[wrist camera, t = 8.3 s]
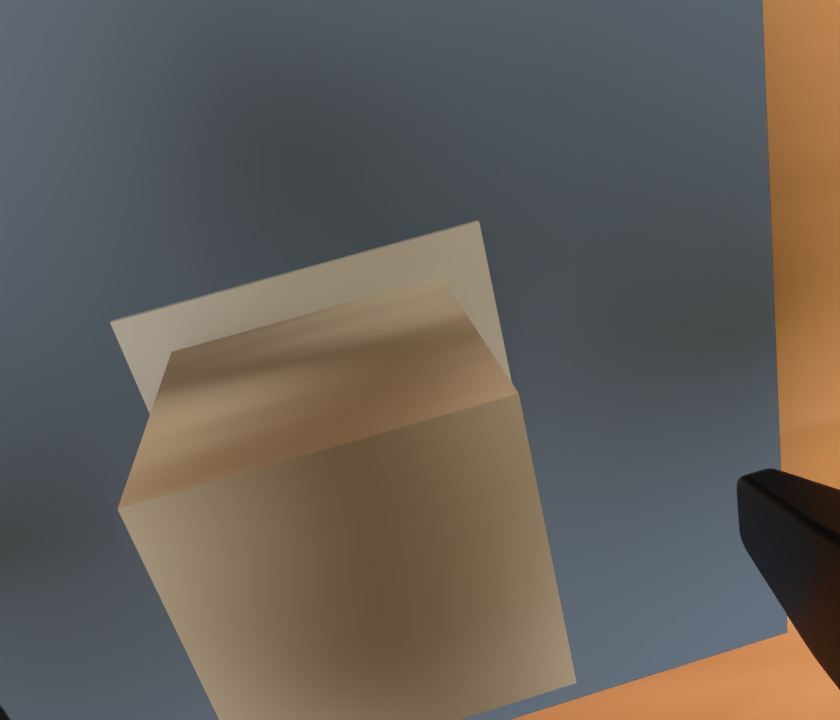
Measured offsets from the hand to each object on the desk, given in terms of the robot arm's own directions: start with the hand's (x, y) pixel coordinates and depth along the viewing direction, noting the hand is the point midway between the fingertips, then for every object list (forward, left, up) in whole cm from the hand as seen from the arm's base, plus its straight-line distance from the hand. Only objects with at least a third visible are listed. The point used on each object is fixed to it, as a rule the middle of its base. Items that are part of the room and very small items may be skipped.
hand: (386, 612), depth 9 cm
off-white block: (0, 0, -5) cm, 5 cm away
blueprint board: (0, 0, -6) cm, 6 cm away
